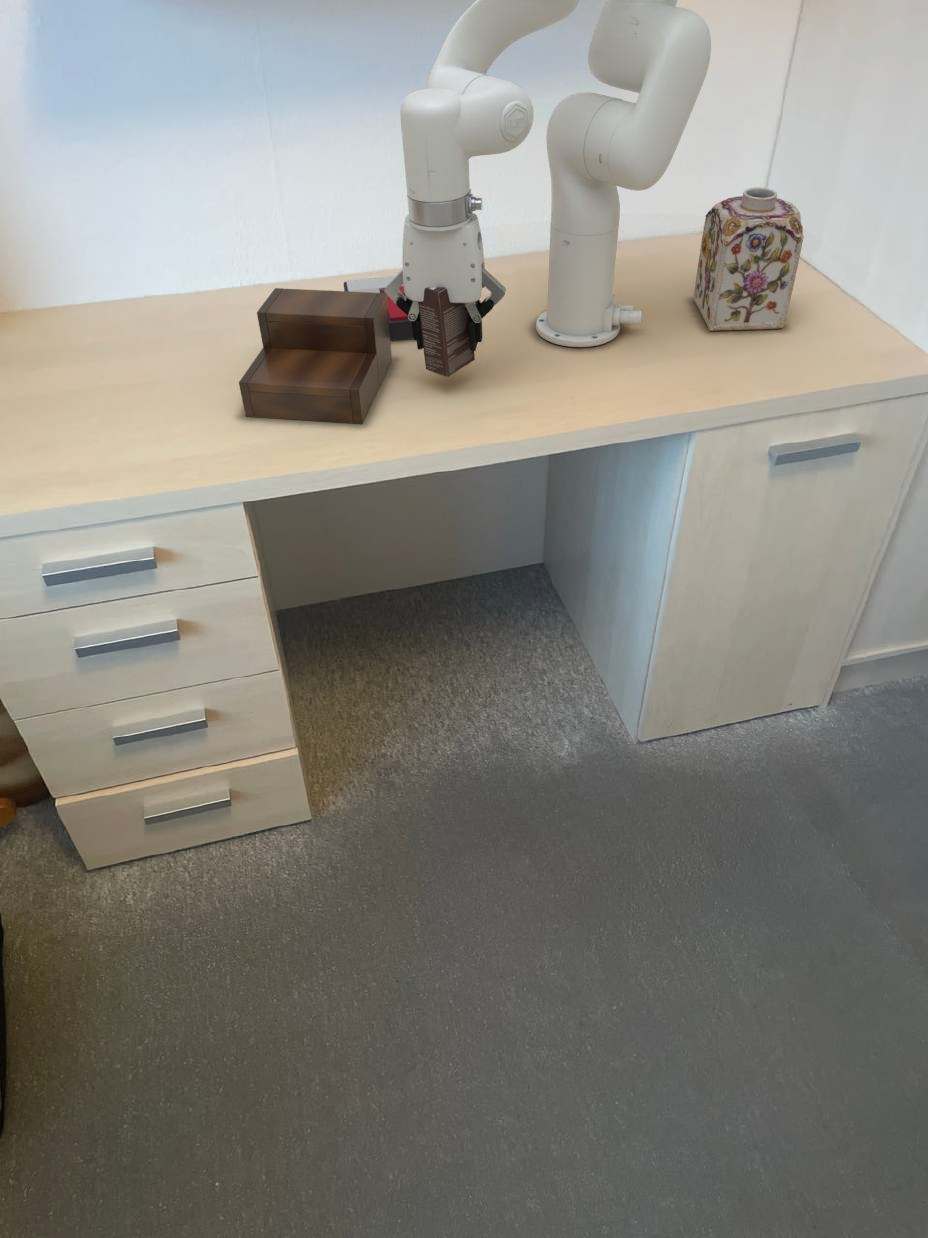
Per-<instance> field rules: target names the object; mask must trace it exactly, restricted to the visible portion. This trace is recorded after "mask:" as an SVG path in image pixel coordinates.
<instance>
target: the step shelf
mask: <svg viewBox="0 0 928 1238" xmlns="http://www.w3.org/2000/svg"><path fill="white" fill-rule="evenodd" d="M256 316H257V321H258V326H259V332H260V333H259V334H260V338H261V343H262V349H261V350H260V351H259V353H258V354H257V355H256V357H255V359H254V360H253V362H252V363H251V364H250V366H249V367H248V368H247V370H246V371H245V373H244V374H243V376H241V378H240V380H239V382H238V386H239V390H240V395H241V400H242V405H243V410H244V415H245V417H246V418H263V419H277V420H291V421H308V422H309V421H311V422H324V423H338V424H355V425H356V424H357V425H363V424H364V422H365V420H366V418H367V415H368V413H369V411H370V408H371V407H372V404H373V402H374V401H375V398H376V395H377V393H378V391H379V389H380V387H381V384H382V383H383V381H384V378H385V376H386V374H387V372H388V370H389V367H390V365H391V363H392V361H393V359H392V358H393V357H392V346H391V345H392V343H391V341H390V331H389V319H388V307H387V295H386V294H385V293H370V292H348V291H343V290H325V289H324V290H322V289H321V290H320V289H299V288H283V287H281V288H279V287H275V288H274V289H273V290H272V292H271V293H270V294H269V296H268V297H267V298H266V299H265V301H264V302H263V303H262V305H261V306H260V307H259V309H258V310H257V311H256Z"/></svg>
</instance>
